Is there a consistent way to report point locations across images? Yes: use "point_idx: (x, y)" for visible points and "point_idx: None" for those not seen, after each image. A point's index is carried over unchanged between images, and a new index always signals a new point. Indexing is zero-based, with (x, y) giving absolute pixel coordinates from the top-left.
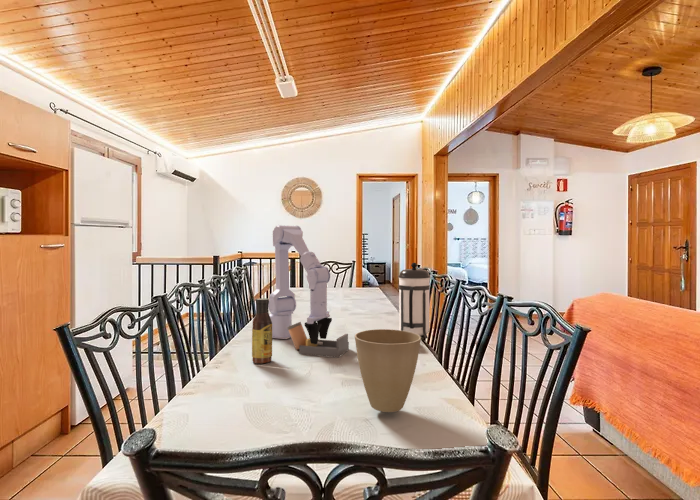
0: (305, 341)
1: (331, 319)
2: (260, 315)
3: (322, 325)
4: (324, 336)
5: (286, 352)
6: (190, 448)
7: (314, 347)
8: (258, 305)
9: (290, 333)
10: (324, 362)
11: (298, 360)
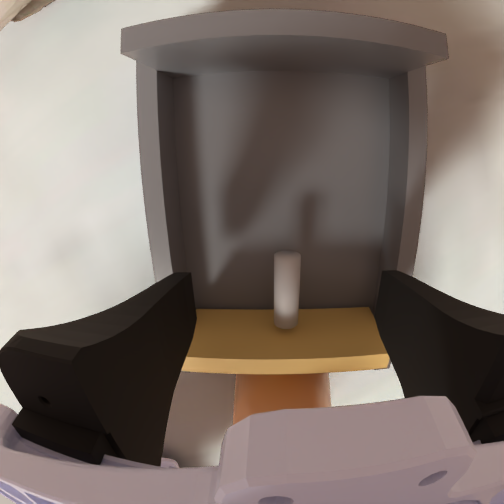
0: (303, 379)
1: (28, 340)
2: None
3: (153, 388)
4: (185, 291)
5: (352, 397)
6: None
7: (413, 264)
8: None
9: None
10: (495, 130)
11: (481, 281)
